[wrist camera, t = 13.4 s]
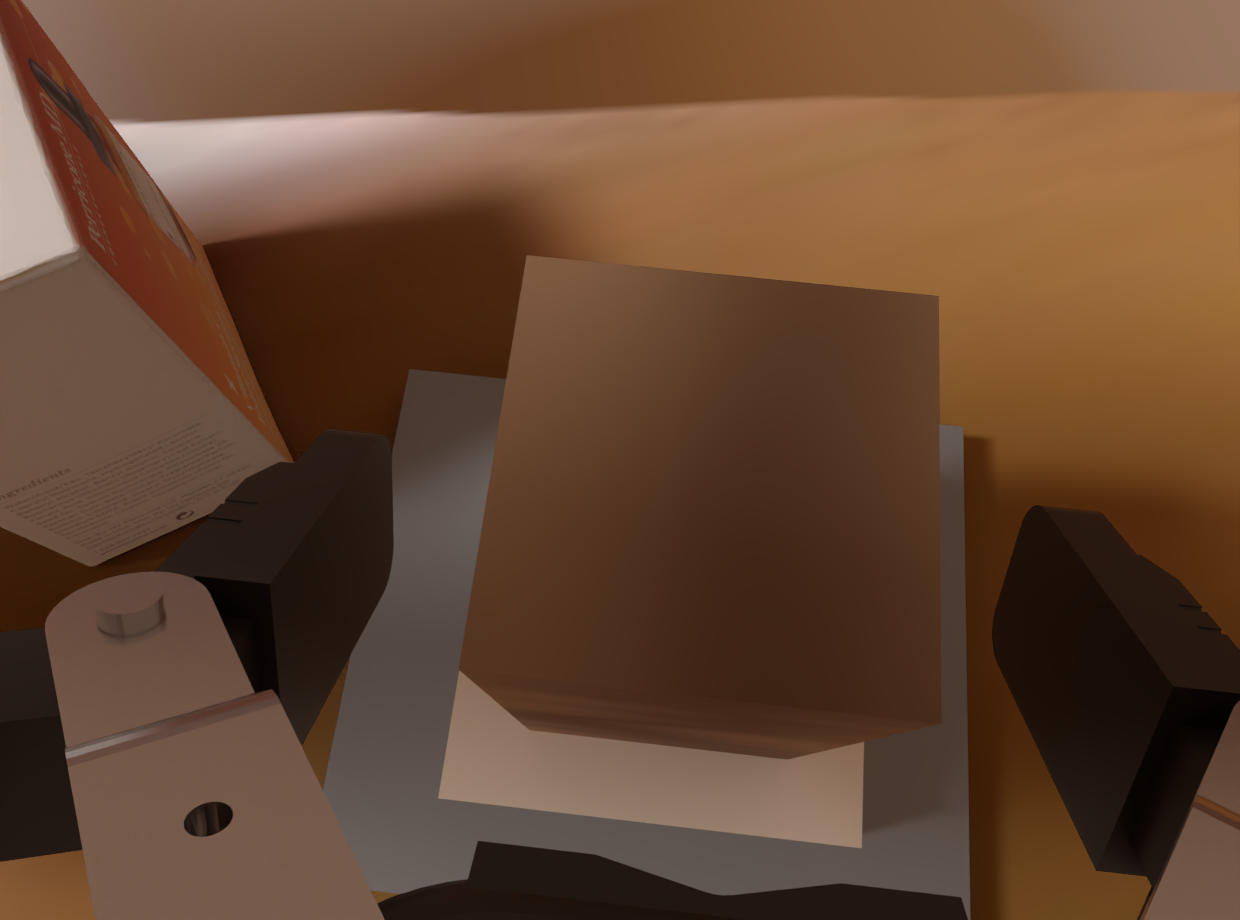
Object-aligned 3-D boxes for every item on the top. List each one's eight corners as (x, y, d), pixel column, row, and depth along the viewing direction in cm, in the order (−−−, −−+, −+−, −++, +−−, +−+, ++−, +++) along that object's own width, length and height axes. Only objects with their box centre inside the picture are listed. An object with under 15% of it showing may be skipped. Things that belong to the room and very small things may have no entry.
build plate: (320, 877, 21) (256, 894, 17) (418, 388, 25) (384, 315, 21) (951, 954, 21) (1027, 988, 17) (947, 443, 25) (1007, 379, 21)
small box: (304, 479, 24) (91, 257, 14) (89, 575, 23) (-295, 408, 13) (204, 238, 27) (-36, -94, 17) (7, 317, 26) (-371, 15, 16)
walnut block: (529, 730, 18) (458, 668, 10) (562, 486, 20) (526, 255, 11) (787, 759, 18) (942, 723, 10) (798, 511, 20) (938, 295, 11)
